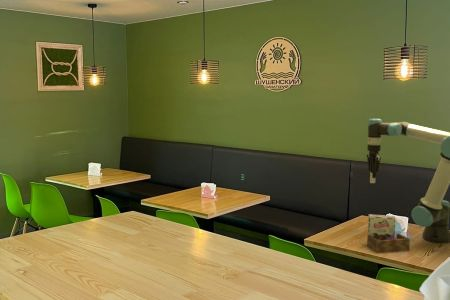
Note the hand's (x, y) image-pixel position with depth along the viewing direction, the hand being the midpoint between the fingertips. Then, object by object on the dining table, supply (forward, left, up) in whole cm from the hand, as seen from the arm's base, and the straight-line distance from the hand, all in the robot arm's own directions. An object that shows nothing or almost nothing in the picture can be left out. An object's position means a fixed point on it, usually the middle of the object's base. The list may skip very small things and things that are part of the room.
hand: (372, 182), depth 277 cm
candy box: (+9, +27, -30) cm, 41 cm away
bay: (+8, +32, -29) cm, 44 cm away
